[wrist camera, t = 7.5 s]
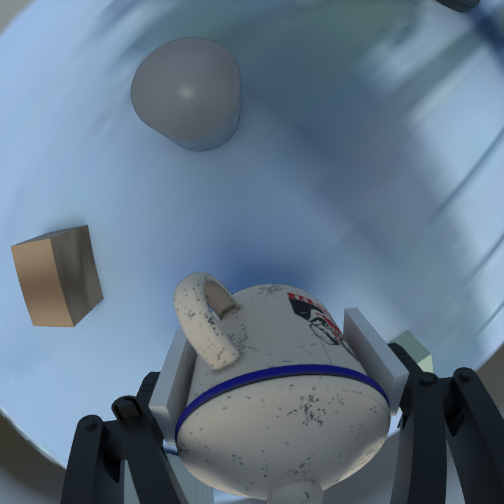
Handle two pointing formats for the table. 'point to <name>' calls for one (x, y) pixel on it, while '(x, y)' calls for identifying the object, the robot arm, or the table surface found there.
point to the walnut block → (58, 277)
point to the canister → (191, 486)
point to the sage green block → (415, 351)
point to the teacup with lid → (273, 394)
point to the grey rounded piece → (189, 93)
